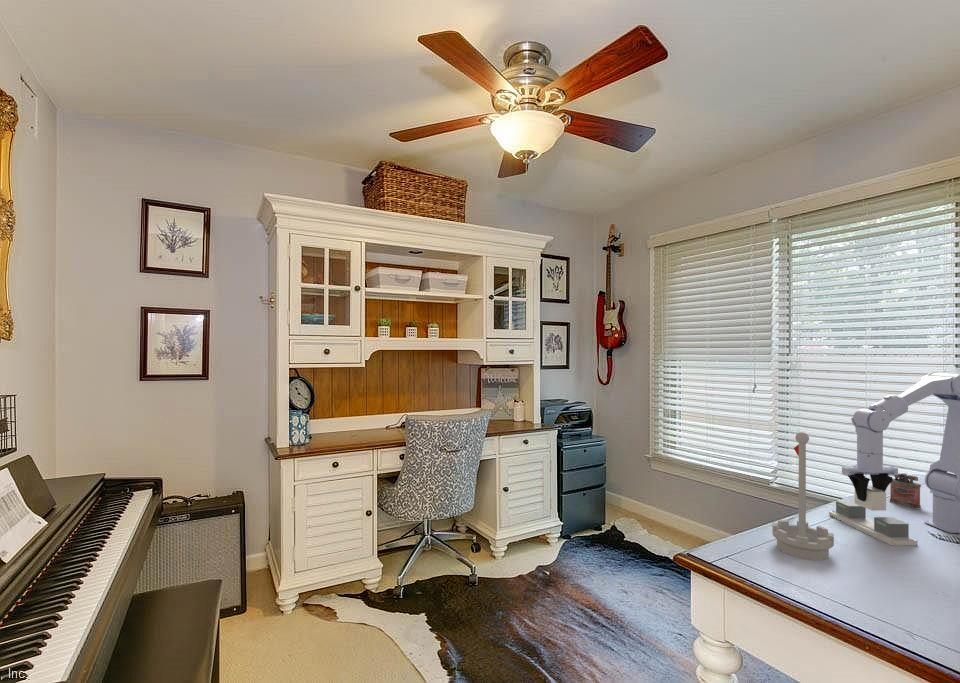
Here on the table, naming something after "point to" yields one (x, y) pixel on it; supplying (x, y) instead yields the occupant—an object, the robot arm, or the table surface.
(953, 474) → the robot arm
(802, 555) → the flag stand
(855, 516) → the board
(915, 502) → the lighter
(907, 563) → the table surface
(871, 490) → the module block
